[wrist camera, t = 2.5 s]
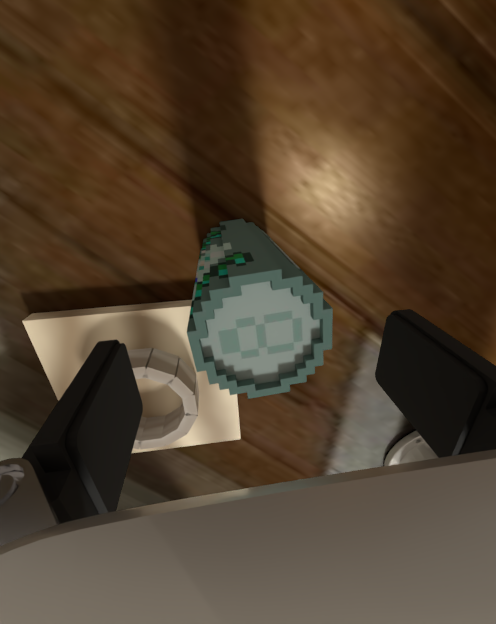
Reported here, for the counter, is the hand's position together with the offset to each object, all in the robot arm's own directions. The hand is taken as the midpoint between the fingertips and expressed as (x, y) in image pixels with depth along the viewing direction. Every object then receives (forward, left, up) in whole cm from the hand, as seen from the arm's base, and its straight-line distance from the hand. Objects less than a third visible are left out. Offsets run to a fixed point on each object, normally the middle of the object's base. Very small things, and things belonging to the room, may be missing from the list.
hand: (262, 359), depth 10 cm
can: (0, 0, -17) cm, 17 cm away
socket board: (+10, +13, -17) cm, 24 cm away
